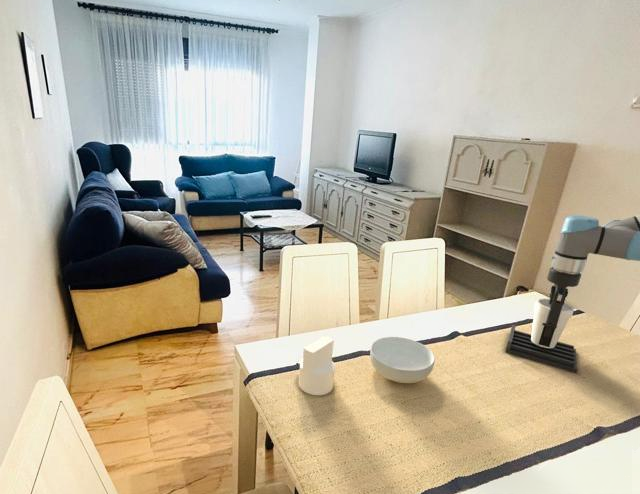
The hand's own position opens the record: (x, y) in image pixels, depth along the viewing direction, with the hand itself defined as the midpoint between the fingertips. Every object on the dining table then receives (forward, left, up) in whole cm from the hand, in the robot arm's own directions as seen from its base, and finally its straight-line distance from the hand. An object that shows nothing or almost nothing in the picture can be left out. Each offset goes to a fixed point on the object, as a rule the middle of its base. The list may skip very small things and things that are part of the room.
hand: (544, 338), depth 118 cm
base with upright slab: (+48, +57, -5) cm, 75 cm away
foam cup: (0, 0, -2) cm, 2 cm away
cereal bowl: (+32, +39, -5) cm, 51 cm away
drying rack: (0, 0, -5) cm, 5 cm away
